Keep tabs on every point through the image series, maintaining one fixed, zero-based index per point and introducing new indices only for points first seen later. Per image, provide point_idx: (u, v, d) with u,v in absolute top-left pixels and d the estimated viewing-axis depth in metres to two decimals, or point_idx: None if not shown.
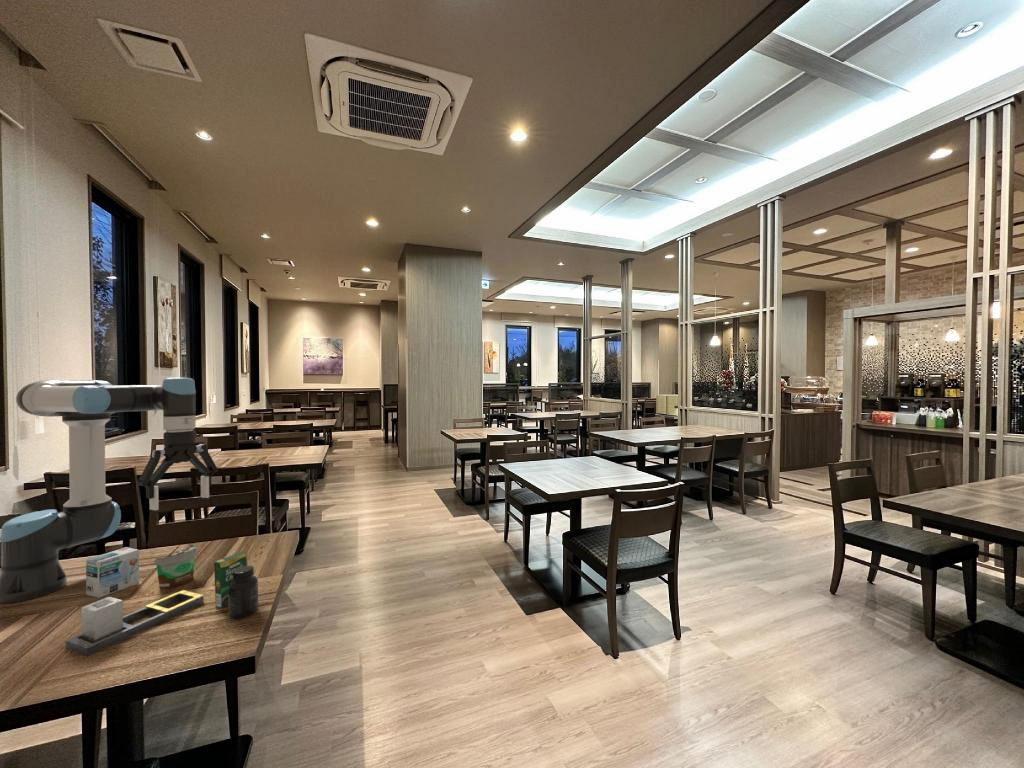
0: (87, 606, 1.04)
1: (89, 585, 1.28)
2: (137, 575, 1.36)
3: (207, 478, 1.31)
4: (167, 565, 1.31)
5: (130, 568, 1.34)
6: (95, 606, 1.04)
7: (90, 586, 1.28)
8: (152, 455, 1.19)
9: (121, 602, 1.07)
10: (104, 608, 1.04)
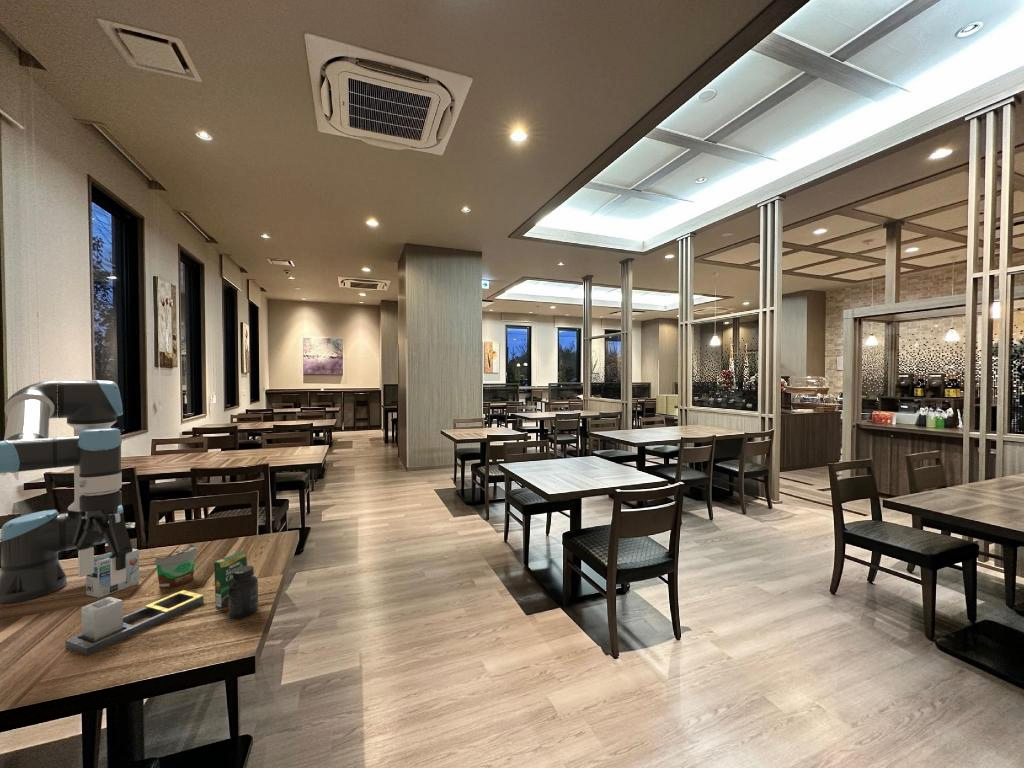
0: (87, 606, 1.04)
1: (89, 585, 1.28)
2: (137, 575, 1.36)
3: (111, 560, 1.01)
4: (167, 565, 1.31)
5: (130, 568, 1.34)
6: (95, 606, 1.04)
7: (90, 586, 1.28)
8: None
9: (121, 602, 1.07)
10: (104, 608, 1.04)
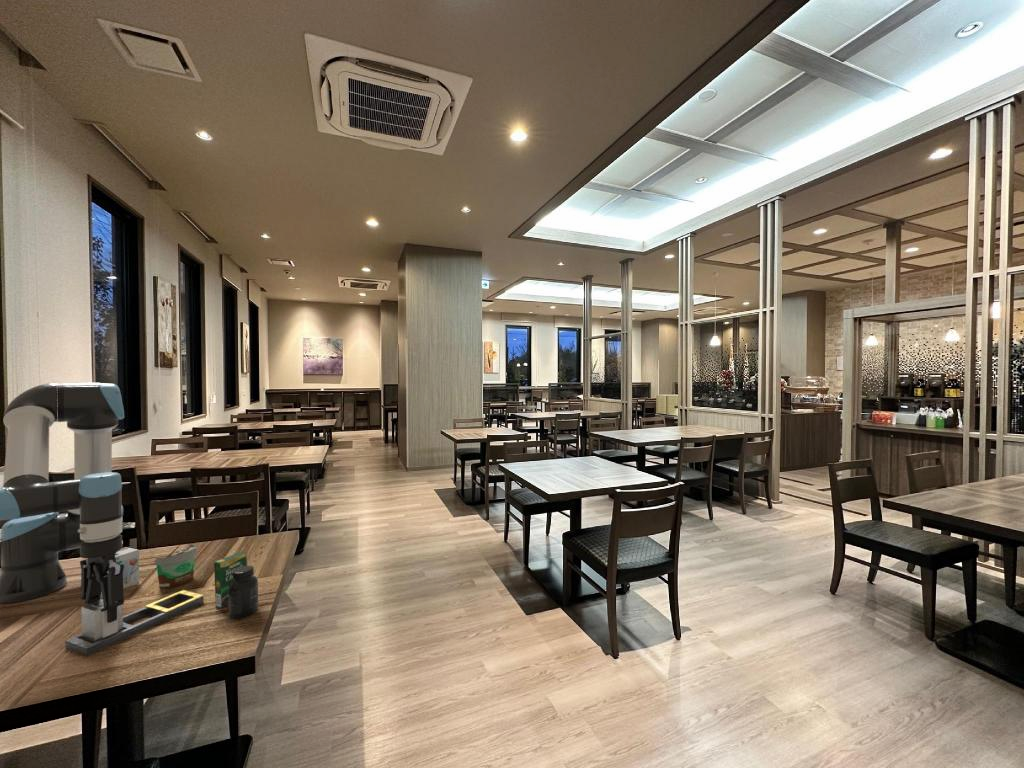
0: (87, 606, 1.04)
1: None
2: (137, 575, 1.36)
3: (102, 612, 1.03)
4: (167, 565, 1.31)
5: (130, 568, 1.34)
6: (95, 606, 1.04)
7: None
8: None
9: None
10: None
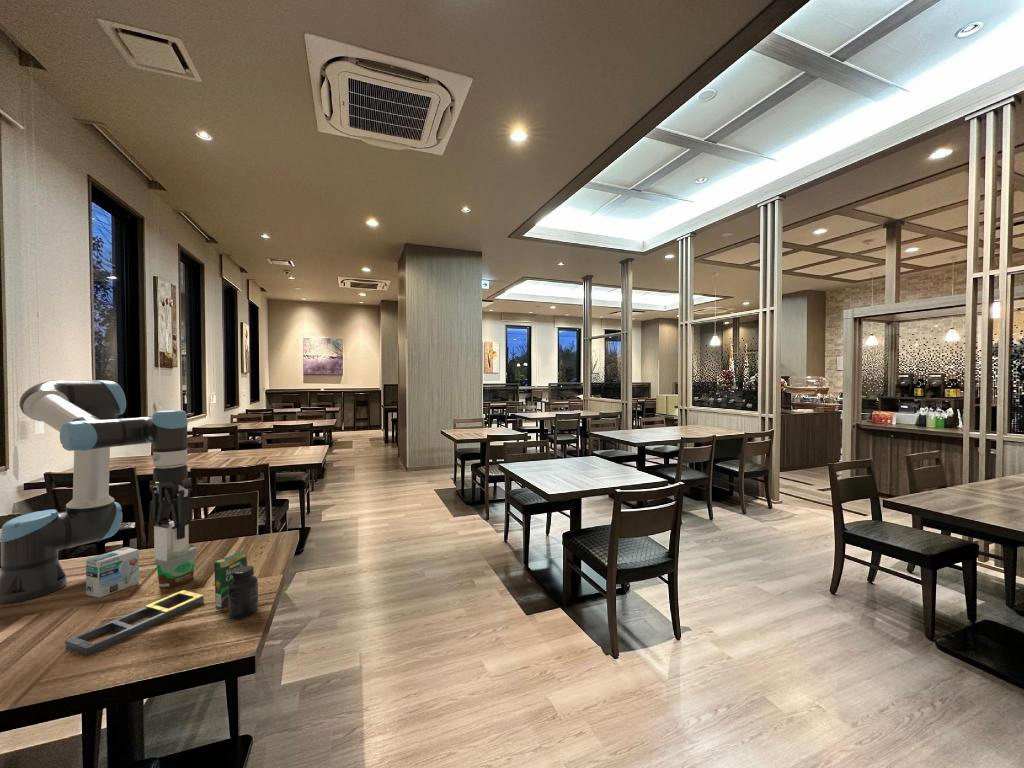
0: (158, 525, 1.19)
1: (89, 585, 1.28)
2: (137, 575, 1.36)
3: (173, 530, 1.17)
4: (167, 565, 1.31)
5: (130, 568, 1.34)
6: (166, 525, 1.18)
7: (90, 586, 1.28)
8: None
9: None
10: (174, 526, 1.18)
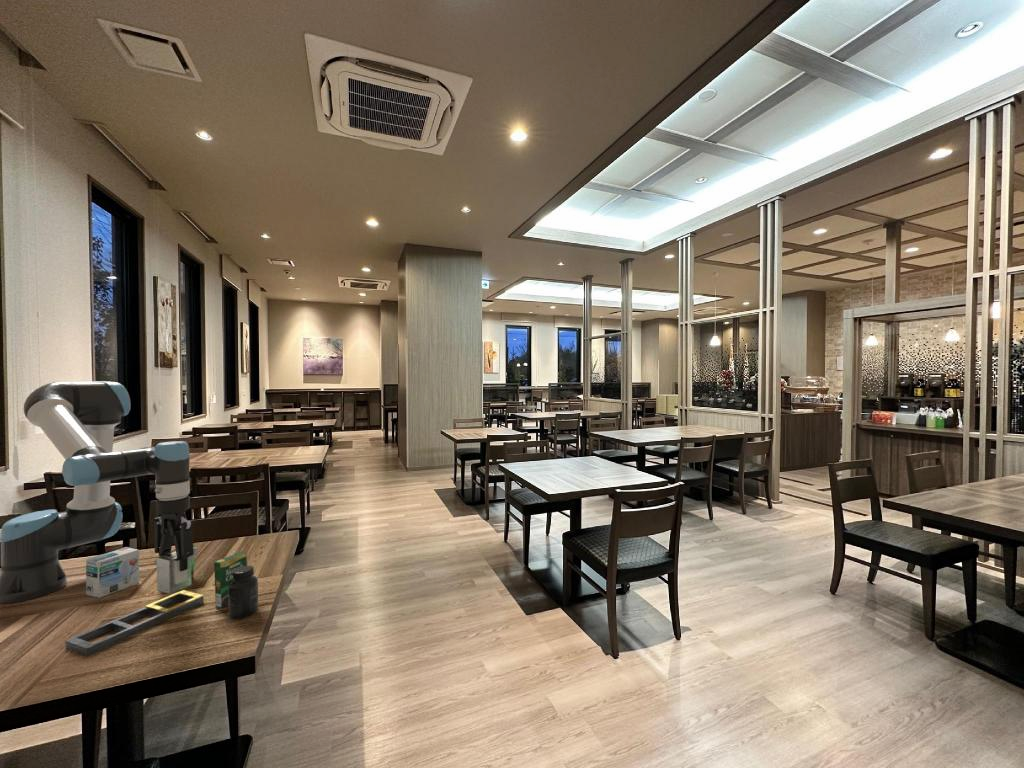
0: (161, 557, 1.19)
1: (89, 585, 1.28)
2: (137, 575, 1.36)
3: (175, 562, 1.18)
4: None
5: (130, 568, 1.34)
6: (168, 557, 1.19)
7: (90, 586, 1.28)
8: None
9: None
10: None
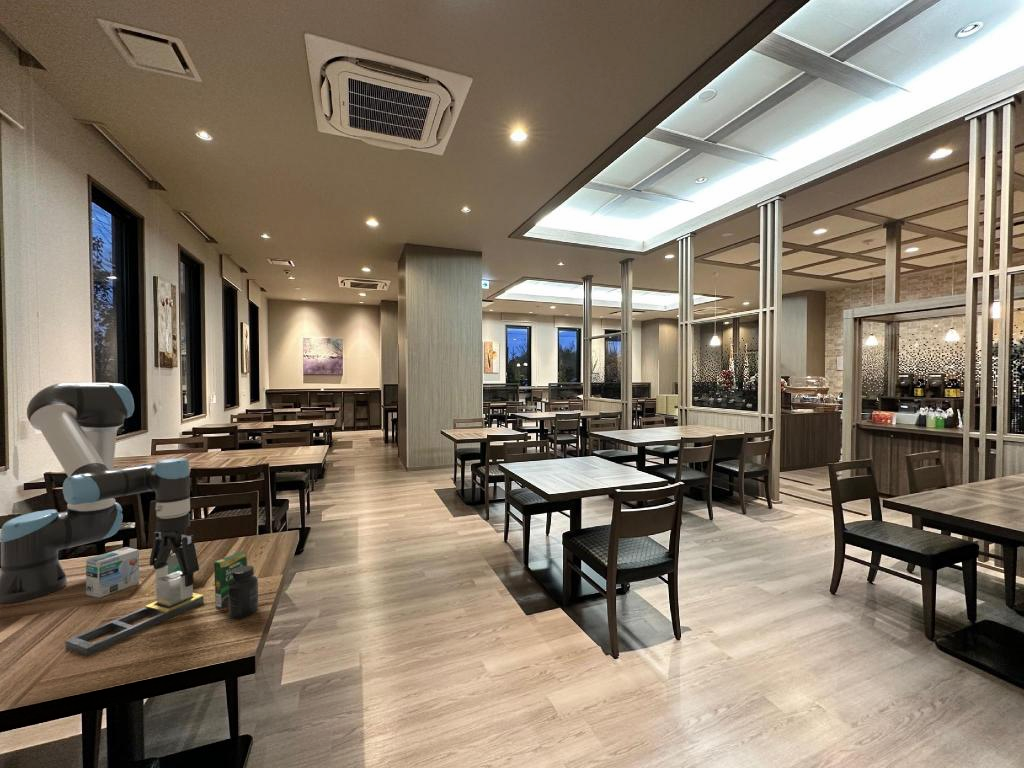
0: (161, 578, 1.19)
1: (89, 585, 1.28)
2: (137, 575, 1.36)
3: (181, 577, 1.17)
4: (167, 565, 1.31)
5: (130, 568, 1.34)
6: (168, 578, 1.19)
7: (90, 586, 1.28)
8: None
9: None
10: (177, 579, 1.18)
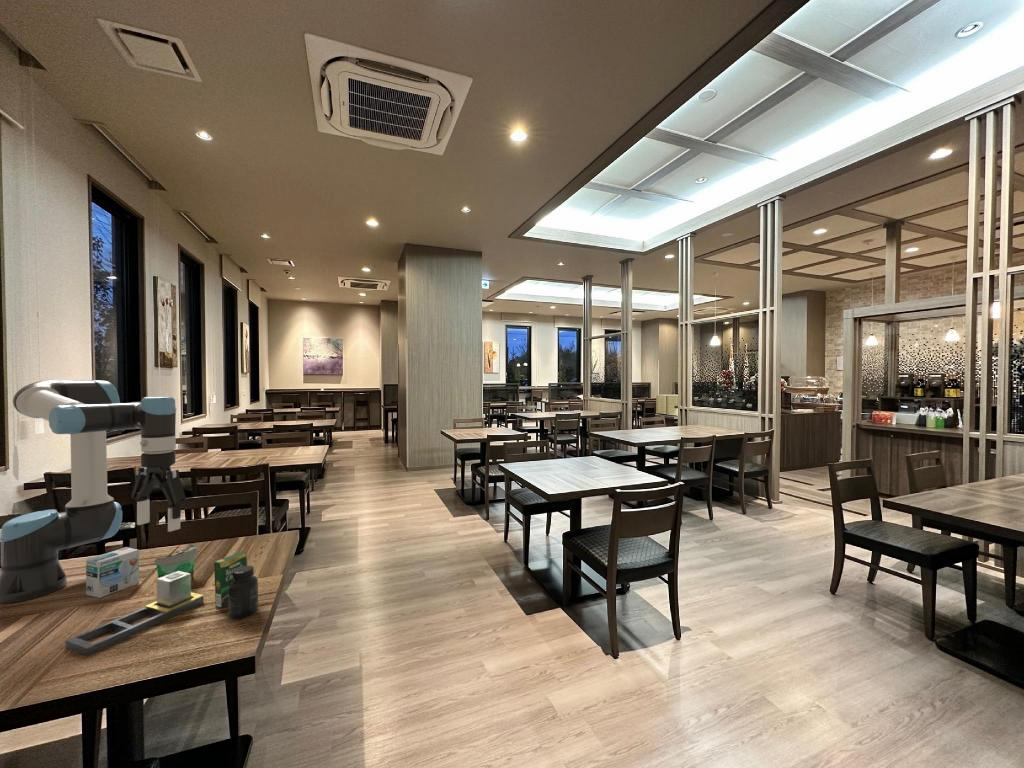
0: (161, 578, 1.19)
1: (89, 585, 1.28)
2: (137, 575, 1.36)
3: (168, 510, 1.17)
4: (167, 565, 1.31)
5: (130, 568, 1.34)
6: (168, 578, 1.19)
7: (90, 586, 1.28)
8: None
9: (190, 575, 1.22)
10: (177, 579, 1.18)
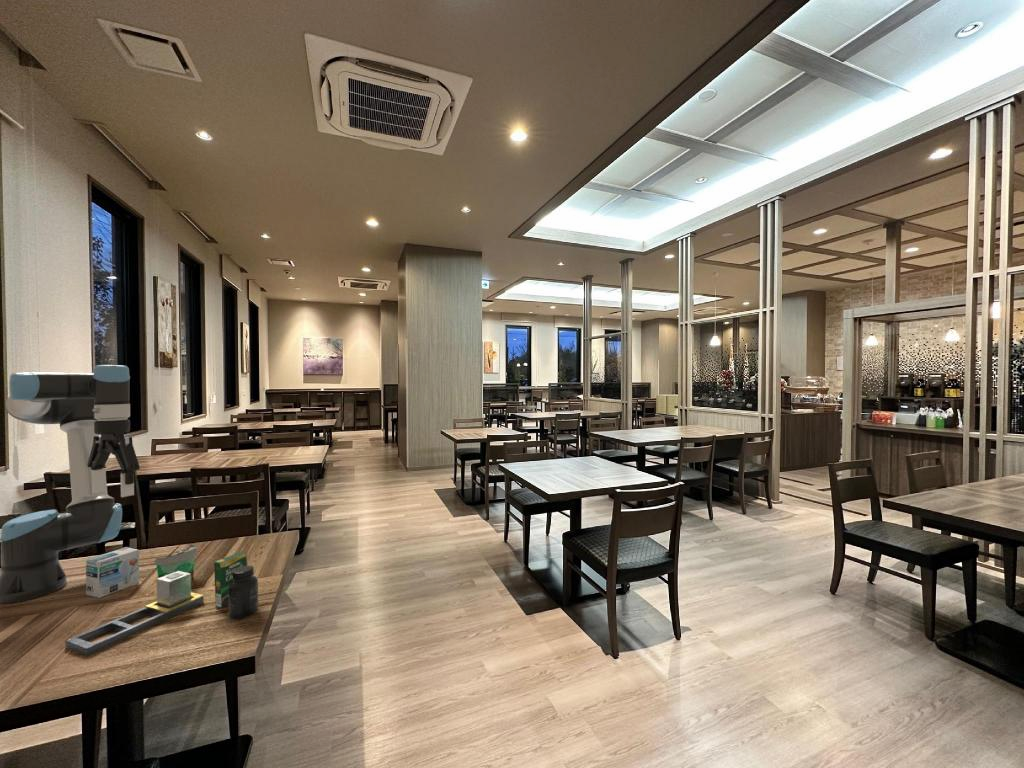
0: (161, 578, 1.19)
1: (89, 585, 1.28)
2: (137, 575, 1.36)
3: (121, 475, 1.18)
4: (167, 565, 1.31)
5: (130, 568, 1.34)
6: (168, 578, 1.19)
7: (90, 586, 1.28)
8: None
9: (190, 575, 1.22)
10: (177, 579, 1.18)
